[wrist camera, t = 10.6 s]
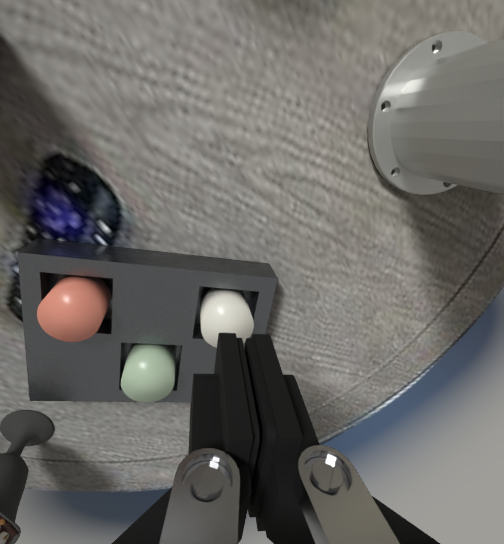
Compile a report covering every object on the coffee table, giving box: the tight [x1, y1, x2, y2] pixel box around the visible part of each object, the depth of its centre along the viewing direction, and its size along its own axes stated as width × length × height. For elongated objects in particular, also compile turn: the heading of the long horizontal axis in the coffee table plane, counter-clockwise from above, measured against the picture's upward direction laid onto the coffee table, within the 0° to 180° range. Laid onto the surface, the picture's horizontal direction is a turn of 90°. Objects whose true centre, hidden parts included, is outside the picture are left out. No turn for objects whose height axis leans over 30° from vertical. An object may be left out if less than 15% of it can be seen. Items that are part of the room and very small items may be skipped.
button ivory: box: [200, 288, 254, 348], centre depth 29 cm, size 4×4×4 cm
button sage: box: [121, 343, 176, 403], centre depth 30 cm, size 4×4×4 cm
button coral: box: [37, 274, 111, 342], centre depth 26 cm, size 4×4×4 cm
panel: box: [17, 238, 278, 402], centre depth 31 cm, size 20×14×4 cm
